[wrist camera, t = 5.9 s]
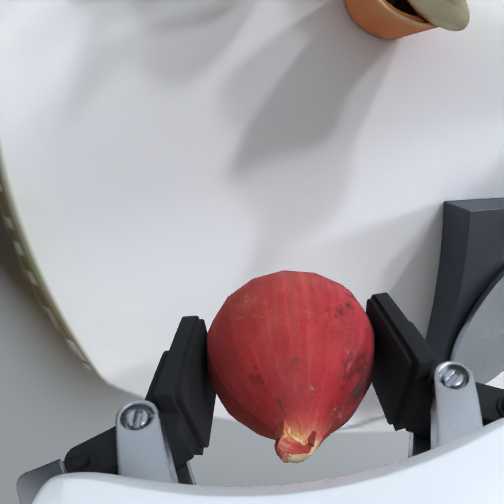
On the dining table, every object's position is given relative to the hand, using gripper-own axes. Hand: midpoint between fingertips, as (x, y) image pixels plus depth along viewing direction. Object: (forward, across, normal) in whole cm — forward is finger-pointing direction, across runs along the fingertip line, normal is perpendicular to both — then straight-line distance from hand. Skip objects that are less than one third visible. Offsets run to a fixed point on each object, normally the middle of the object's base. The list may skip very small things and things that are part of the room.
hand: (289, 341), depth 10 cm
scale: (+8, -19, +6) cm, 22 cm away
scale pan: (+5, -19, +8) cm, 21 cm away
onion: (+3, 0, 0) cm, 3 cm away
